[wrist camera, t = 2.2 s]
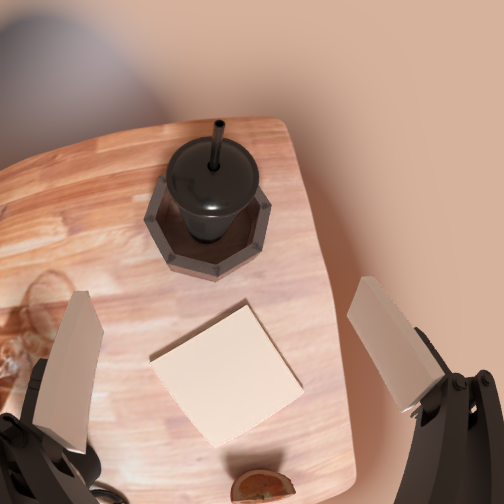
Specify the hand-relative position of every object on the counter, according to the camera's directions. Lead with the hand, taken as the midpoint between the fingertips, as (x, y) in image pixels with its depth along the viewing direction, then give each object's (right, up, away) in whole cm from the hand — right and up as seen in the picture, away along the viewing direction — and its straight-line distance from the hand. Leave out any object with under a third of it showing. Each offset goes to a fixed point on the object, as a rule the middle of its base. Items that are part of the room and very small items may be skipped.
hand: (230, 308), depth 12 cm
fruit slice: (+2, -30, +15) cm, 33 cm away
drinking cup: (-5, +6, +22) cm, 23 cm away
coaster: (-2, -13, +18) cm, 22 cm away
